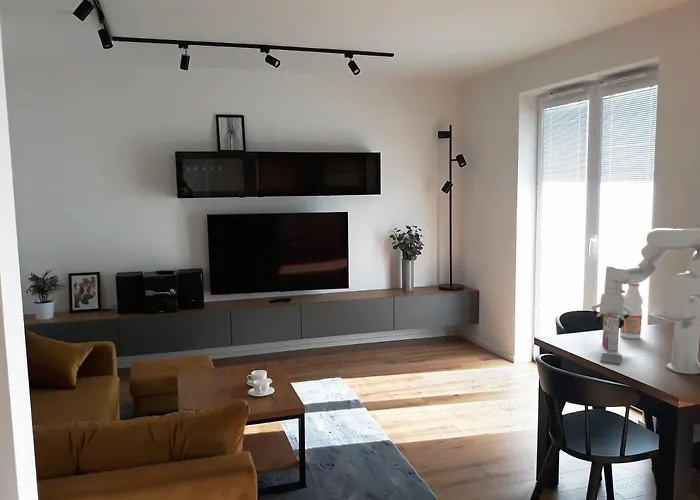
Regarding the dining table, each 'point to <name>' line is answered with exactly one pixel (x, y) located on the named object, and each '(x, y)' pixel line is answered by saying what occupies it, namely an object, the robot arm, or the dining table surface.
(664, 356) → the dining table surface
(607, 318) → the candy bar box
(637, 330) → the fruit juice
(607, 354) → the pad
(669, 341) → the dining table surface
